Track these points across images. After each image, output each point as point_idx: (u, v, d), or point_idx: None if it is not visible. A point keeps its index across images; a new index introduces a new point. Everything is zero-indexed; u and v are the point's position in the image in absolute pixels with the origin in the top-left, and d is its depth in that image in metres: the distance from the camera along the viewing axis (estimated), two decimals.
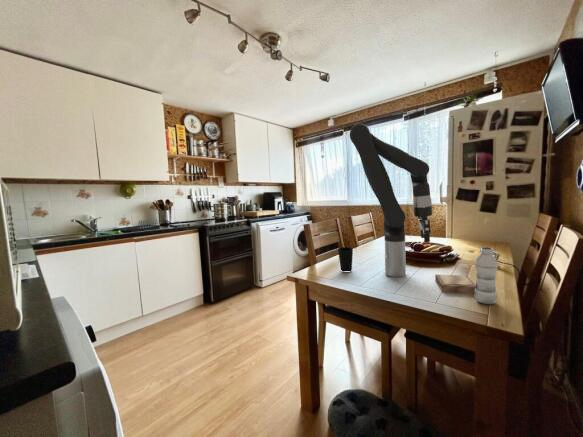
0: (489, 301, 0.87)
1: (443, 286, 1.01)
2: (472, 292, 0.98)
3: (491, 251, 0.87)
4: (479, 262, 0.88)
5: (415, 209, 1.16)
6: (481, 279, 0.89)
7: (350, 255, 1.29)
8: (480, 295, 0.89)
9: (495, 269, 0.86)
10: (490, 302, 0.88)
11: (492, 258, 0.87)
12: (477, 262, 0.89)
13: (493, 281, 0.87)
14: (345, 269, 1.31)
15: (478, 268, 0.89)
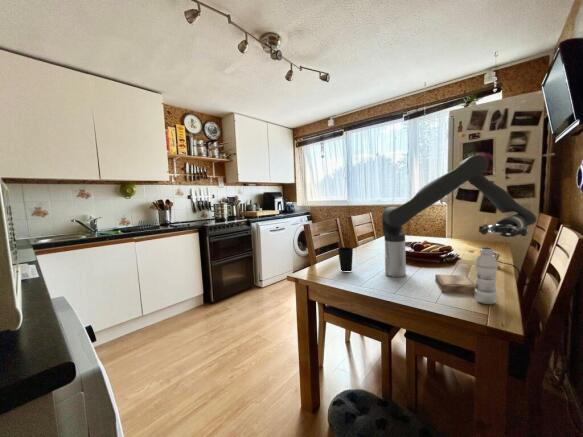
0: (489, 301, 0.87)
1: (443, 286, 1.01)
2: (472, 292, 0.98)
3: (491, 251, 0.87)
4: (479, 262, 0.88)
5: (514, 219, 1.01)
6: (481, 279, 0.89)
7: (350, 255, 1.29)
8: (480, 295, 0.89)
9: (495, 269, 0.86)
10: (490, 302, 0.88)
11: (492, 258, 0.87)
12: (477, 262, 0.89)
13: (493, 281, 0.87)
14: (345, 269, 1.31)
15: (478, 268, 0.89)
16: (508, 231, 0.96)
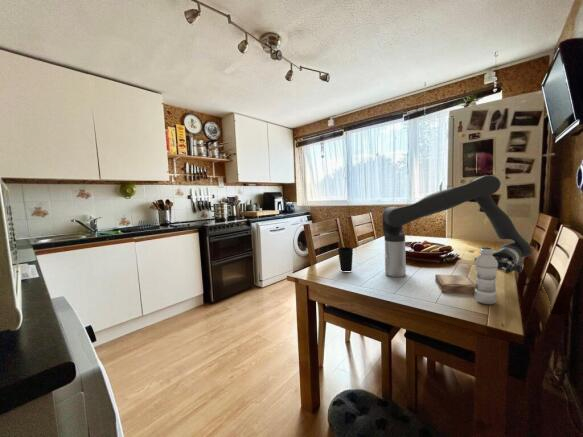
0: (489, 301, 0.87)
1: (443, 286, 1.01)
2: (472, 292, 0.98)
3: (491, 251, 0.87)
4: (479, 262, 0.88)
5: (509, 251, 1.01)
6: (481, 279, 0.89)
7: (350, 255, 1.29)
8: (480, 295, 0.89)
9: (495, 269, 0.86)
10: (490, 302, 0.88)
11: (492, 258, 0.87)
12: (477, 262, 0.89)
13: (493, 281, 0.87)
14: (345, 269, 1.31)
15: (478, 268, 0.89)
16: (503, 265, 0.96)
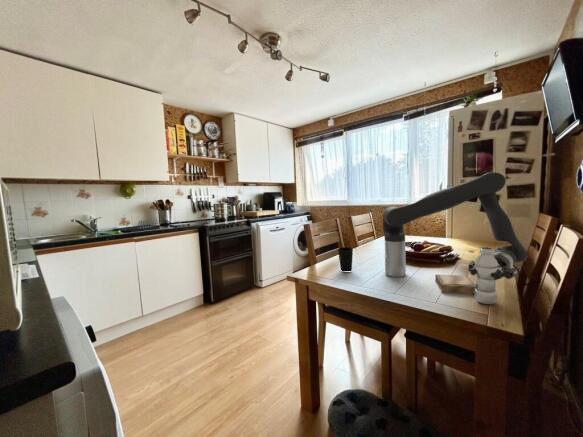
0: (490, 301, 0.87)
1: (443, 286, 1.01)
2: (472, 292, 0.98)
3: (491, 251, 0.87)
4: (479, 262, 0.88)
5: (503, 256, 0.95)
6: (481, 279, 0.89)
7: (350, 255, 1.29)
8: (480, 295, 0.89)
9: (495, 269, 0.86)
10: (490, 302, 0.88)
11: (492, 258, 0.87)
12: (477, 262, 0.89)
13: (493, 281, 0.87)
14: (345, 269, 1.31)
15: (478, 268, 0.89)
16: None
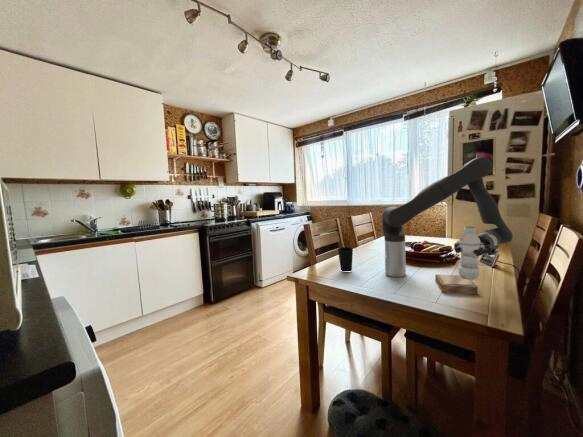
0: (472, 276, 0.93)
1: (443, 286, 1.01)
2: (472, 292, 0.98)
3: (474, 229, 0.92)
4: (462, 240, 0.94)
5: (487, 236, 1.01)
6: (464, 256, 0.94)
7: (350, 255, 1.29)
8: (464, 271, 0.95)
9: (477, 246, 0.92)
10: (473, 277, 0.93)
11: (475, 236, 0.92)
12: (461, 240, 0.95)
13: (476, 258, 0.93)
14: (345, 269, 1.31)
15: (462, 246, 0.94)
16: None
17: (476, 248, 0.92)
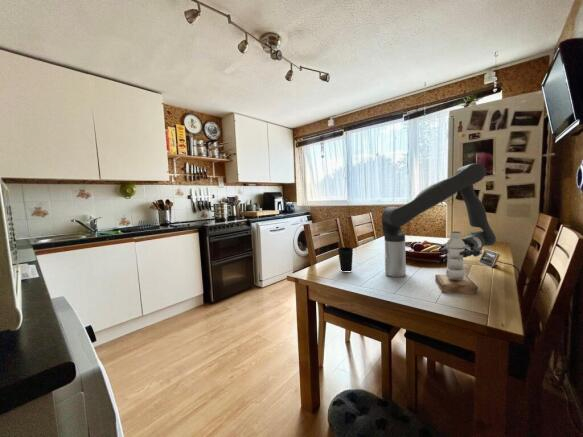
0: (458, 277, 1.01)
1: (443, 286, 1.01)
2: (472, 292, 0.98)
3: (459, 234, 1.00)
4: (449, 244, 1.02)
5: (472, 239, 1.09)
6: (451, 259, 1.03)
7: (350, 255, 1.29)
8: (450, 273, 1.03)
9: (462, 250, 1.00)
10: (458, 278, 1.01)
11: (460, 240, 1.00)
12: (447, 244, 1.03)
13: (461, 260, 1.01)
14: (345, 269, 1.31)
15: (448, 249, 1.02)
16: (464, 251, 1.04)
17: (461, 251, 1.00)
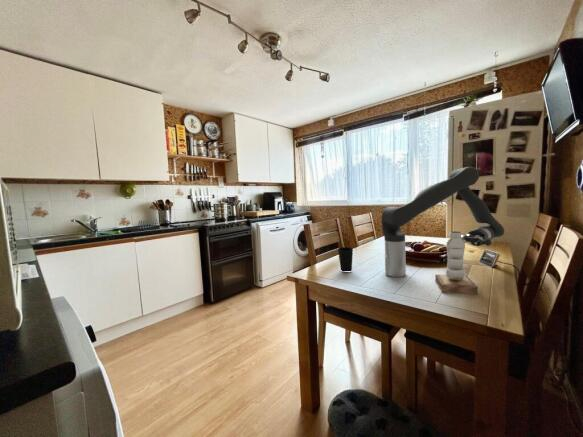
0: (458, 277, 1.01)
1: (443, 286, 1.01)
2: (472, 292, 0.98)
3: (459, 234, 1.00)
4: (449, 244, 1.02)
5: (482, 230, 1.16)
6: (451, 259, 1.03)
7: (350, 255, 1.29)
8: (450, 273, 1.03)
9: (462, 250, 1.00)
10: (458, 278, 1.01)
11: (460, 240, 1.00)
12: (447, 244, 1.03)
13: (461, 260, 1.01)
14: (345, 269, 1.31)
15: (448, 249, 1.03)
16: (476, 241, 1.11)
17: (461, 251, 1.00)
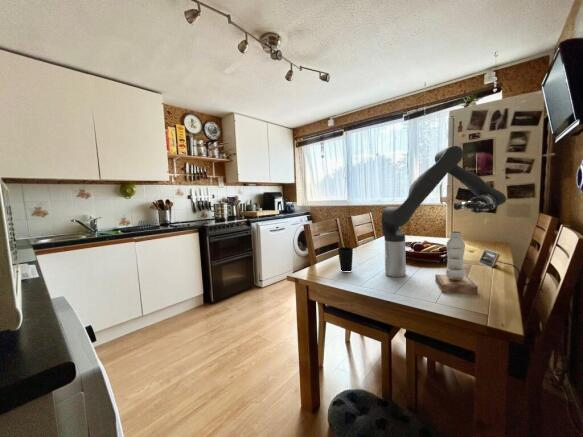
0: (458, 277, 1.01)
1: (443, 286, 1.01)
2: (472, 292, 0.98)
3: (459, 234, 1.00)
4: (449, 244, 1.02)
5: (484, 197, 1.15)
6: (451, 259, 1.03)
7: (350, 255, 1.29)
8: (450, 273, 1.03)
9: (462, 250, 1.00)
10: (458, 278, 1.01)
11: (460, 240, 1.00)
12: (447, 244, 1.03)
13: (461, 260, 1.01)
14: (345, 269, 1.31)
15: (448, 249, 1.03)
16: (478, 206, 1.10)
17: (461, 251, 1.00)
